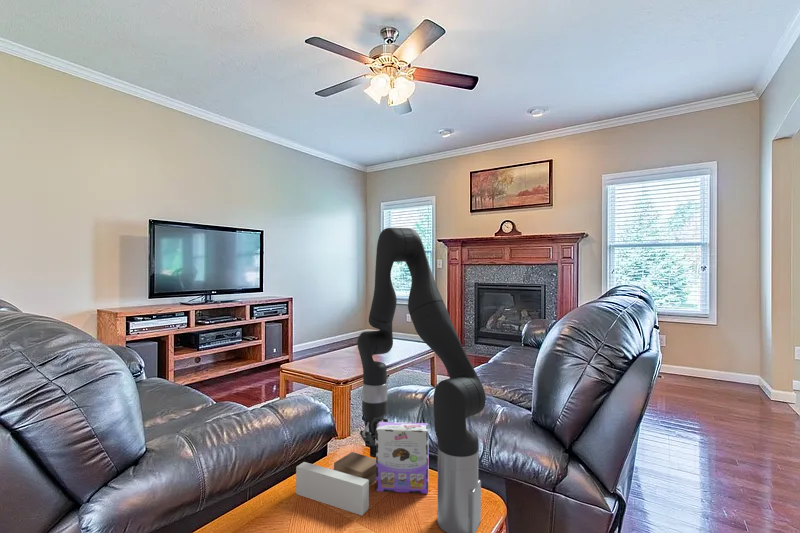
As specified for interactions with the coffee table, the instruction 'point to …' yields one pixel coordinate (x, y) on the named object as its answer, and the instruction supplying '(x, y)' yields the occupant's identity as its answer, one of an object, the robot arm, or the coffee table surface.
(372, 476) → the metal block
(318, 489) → the painted board
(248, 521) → the coffee table surface
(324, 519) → the coffee table surface
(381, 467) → the candy box
